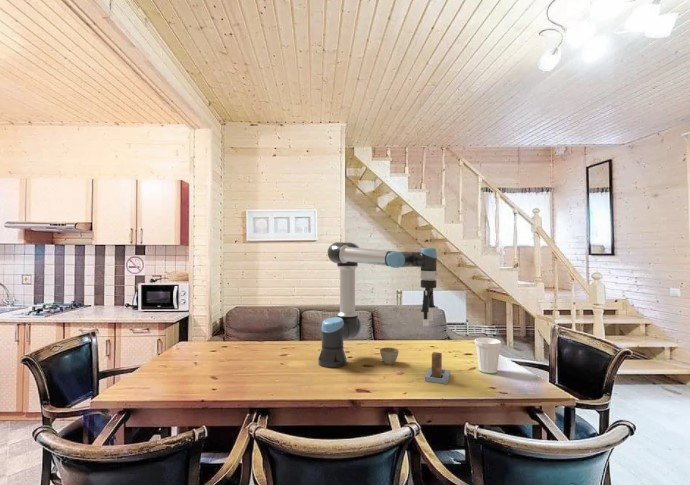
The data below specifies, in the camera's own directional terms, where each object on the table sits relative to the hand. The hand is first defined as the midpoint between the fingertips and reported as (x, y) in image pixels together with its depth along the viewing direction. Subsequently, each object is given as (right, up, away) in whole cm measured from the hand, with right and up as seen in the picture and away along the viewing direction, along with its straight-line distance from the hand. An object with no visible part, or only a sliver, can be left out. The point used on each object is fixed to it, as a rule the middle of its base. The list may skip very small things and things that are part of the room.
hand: (428, 323), depth 174 cm
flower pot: (-17, -26, +17) cm, 35 cm away
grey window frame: (+3, -25, -5) cm, 25 cm away
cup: (+31, -25, +5) cm, 40 cm away
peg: (+2, -24, -8) cm, 26 cm away
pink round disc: (-14, -25, +2) cm, 29 cm away
